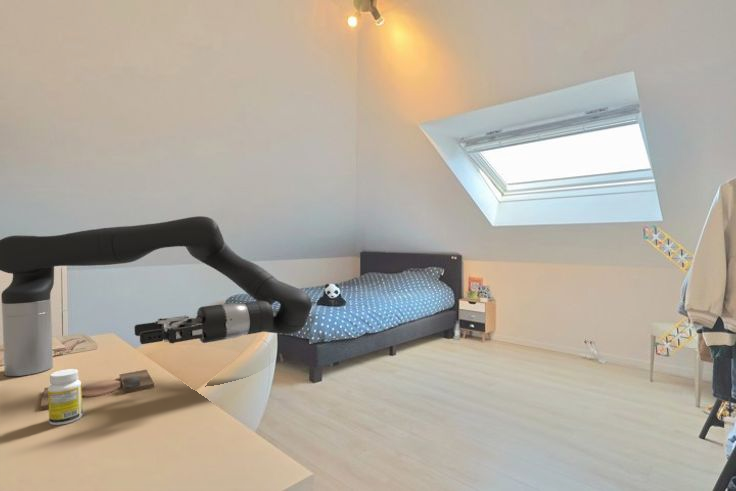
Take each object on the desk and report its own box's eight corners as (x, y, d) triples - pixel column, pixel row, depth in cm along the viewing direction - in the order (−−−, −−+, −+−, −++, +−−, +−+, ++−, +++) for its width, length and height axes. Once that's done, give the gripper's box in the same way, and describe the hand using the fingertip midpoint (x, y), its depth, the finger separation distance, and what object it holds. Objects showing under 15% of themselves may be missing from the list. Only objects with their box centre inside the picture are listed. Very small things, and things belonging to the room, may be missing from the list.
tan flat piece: (44, 391, 86) (44, 380, 86) (146, 372, 97) (146, 362, 97) (40, 410, 76) (40, 397, 76) (154, 387, 87) (154, 376, 87)
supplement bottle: (61, 414, 74) (59, 368, 74) (88, 413, 75) (86, 367, 75) (42, 426, 70) (40, 377, 70) (71, 425, 70) (69, 376, 70)
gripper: (213, 300, 94) (132, 310, 84) (233, 308, 82) (141, 320, 73) (215, 333, 94) (133, 346, 84) (234, 345, 82) (143, 362, 73)
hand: (137, 334), depth 79 cm, fingers open, 8 cm apart
